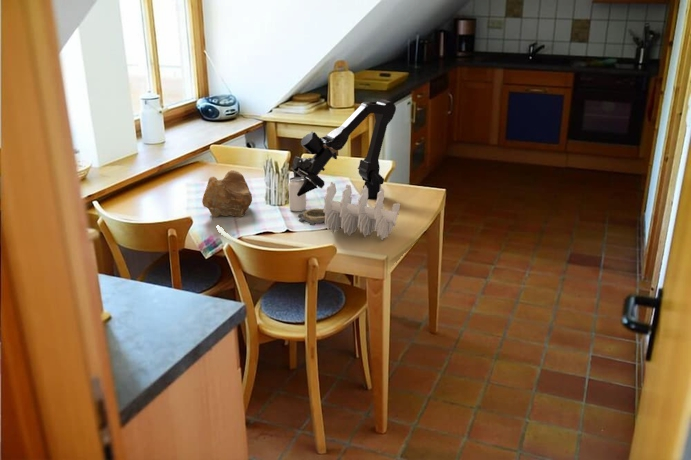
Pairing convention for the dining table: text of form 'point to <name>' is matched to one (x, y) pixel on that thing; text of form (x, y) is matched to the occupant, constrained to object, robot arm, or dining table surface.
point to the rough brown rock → (227, 195)
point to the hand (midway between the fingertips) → (294, 193)
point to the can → (294, 200)
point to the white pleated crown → (358, 213)
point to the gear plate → (313, 216)
